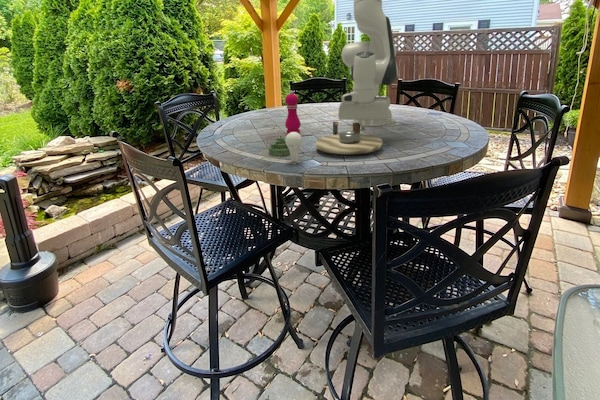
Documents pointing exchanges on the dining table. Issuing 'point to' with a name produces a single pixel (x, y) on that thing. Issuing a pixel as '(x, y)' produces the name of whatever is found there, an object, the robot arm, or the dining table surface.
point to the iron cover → (349, 137)
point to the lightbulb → (293, 144)
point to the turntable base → (348, 154)
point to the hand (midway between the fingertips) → (363, 130)
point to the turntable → (334, 146)
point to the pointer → (335, 128)
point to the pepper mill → (292, 114)
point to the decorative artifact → (279, 148)
